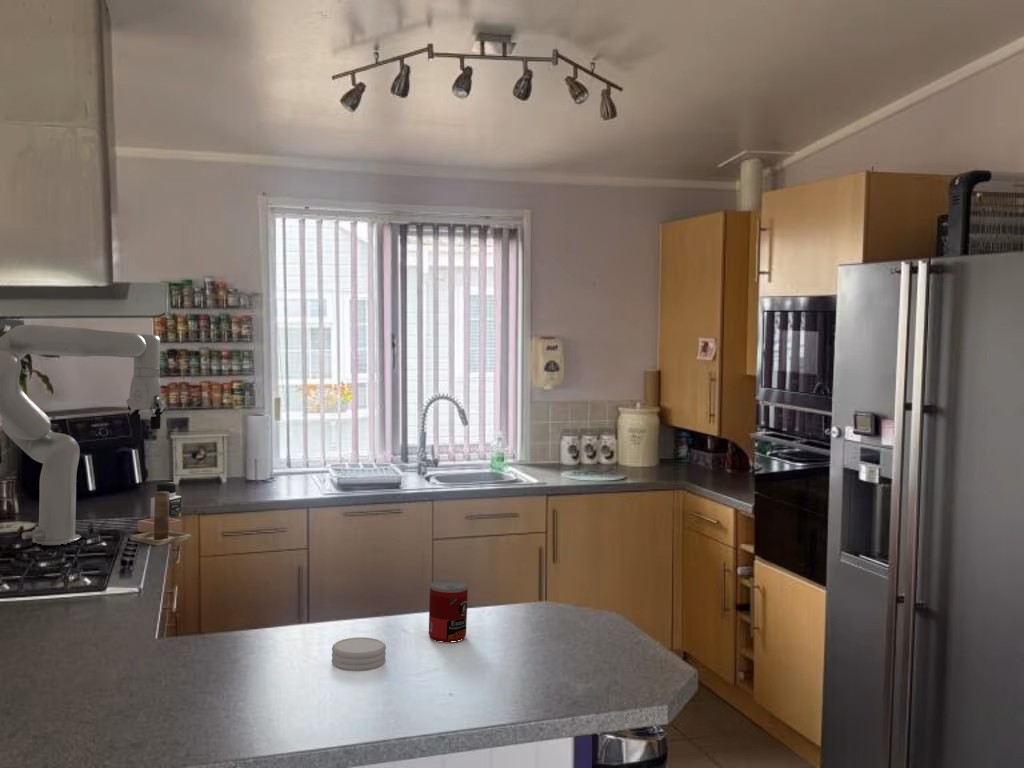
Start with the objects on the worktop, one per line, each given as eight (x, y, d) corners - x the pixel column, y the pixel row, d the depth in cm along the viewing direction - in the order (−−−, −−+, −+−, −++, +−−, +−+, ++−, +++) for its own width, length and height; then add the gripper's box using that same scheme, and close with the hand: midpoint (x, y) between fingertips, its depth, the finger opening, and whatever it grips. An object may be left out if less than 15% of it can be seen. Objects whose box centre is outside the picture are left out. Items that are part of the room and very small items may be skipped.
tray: (157, 548, 253) (157, 541, 253) (130, 542, 259) (130, 535, 259) (191, 541, 264) (191, 534, 264) (164, 536, 270) (164, 529, 270)
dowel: (159, 541, 259) (160, 493, 258) (150, 539, 261) (152, 492, 260) (171, 539, 262) (172, 492, 262) (162, 537, 264) (163, 491, 264)
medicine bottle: (169, 520, 295) (169, 484, 295) (150, 518, 297) (150, 483, 296) (181, 516, 302) (182, 481, 302) (162, 515, 304) (163, 480, 303)
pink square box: (156, 537, 268) (157, 524, 268) (137, 533, 272) (137, 520, 272) (181, 532, 276) (181, 520, 275) (162, 529, 280) (162, 516, 280)
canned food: (452, 646, 176) (453, 591, 176) (420, 638, 180) (422, 585, 180) (473, 636, 183) (475, 583, 182) (442, 629, 187) (444, 577, 187)
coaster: (327, 672, 160) (328, 653, 160) (335, 654, 170) (336, 636, 170) (383, 672, 160) (383, 653, 160) (387, 654, 170) (388, 636, 170)
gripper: (118, 372, 278) (117, 426, 278) (154, 374, 269) (152, 430, 270) (139, 372, 284) (137, 425, 285) (174, 374, 276) (173, 429, 276)
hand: (145, 428), depth 277 cm, fingers open, 9 cm apart
